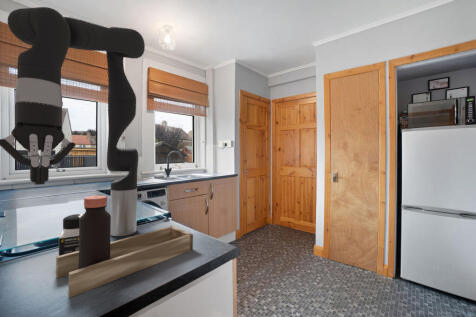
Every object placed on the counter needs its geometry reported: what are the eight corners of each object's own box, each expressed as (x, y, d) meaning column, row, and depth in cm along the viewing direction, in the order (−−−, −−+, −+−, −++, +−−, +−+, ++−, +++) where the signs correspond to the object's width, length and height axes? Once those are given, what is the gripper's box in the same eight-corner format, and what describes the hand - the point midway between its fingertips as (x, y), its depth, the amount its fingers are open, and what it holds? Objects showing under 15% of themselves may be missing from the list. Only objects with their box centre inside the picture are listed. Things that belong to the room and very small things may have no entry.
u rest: (56, 276, 56) (56, 256, 55) (171, 239, 81) (171, 226, 81) (69, 297, 48) (70, 274, 48) (192, 249, 73) (193, 234, 73)
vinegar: (72, 277, 55) (73, 197, 55) (99, 265, 61) (100, 193, 61) (89, 285, 52) (90, 201, 52) (115, 272, 58) (116, 196, 58)
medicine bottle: (58, 262, 63) (58, 220, 62) (62, 252, 69) (62, 214, 68) (88, 256, 66) (89, 217, 66) (89, 247, 72) (90, 211, 72)
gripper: (72, 111, 55) (71, 180, 55) (-7, 100, 45) (-8, 185, 45) (81, 107, 50) (80, 183, 51) (-5, 94, 40) (-5, 189, 40)
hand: (39, 184), depth 48 cm, fingers closed
